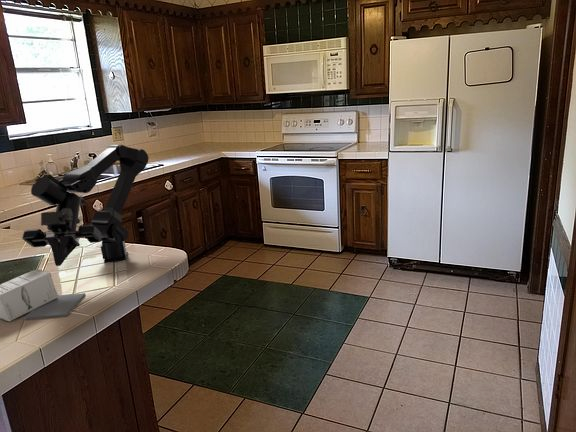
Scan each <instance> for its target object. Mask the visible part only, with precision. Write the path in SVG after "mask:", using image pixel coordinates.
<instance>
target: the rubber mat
mask: <svg viewBox="0 0 576 432" xmlns="http://www.w3.org/2000/svg"><path fill="white" fill-rule="evenodd" d="M58 296H59V297H58V298H56V299H54V300H52V301H50V302H48V303H46V304H44V305H42V306H40V307H38V308H36V309H34V310H32V311H30V312H28V314H27V315H26V316H25V317H24V320H26V321H27V320H38V319H51V318H62V317H63V318H64V317H68V315H70V314H71V313H72V311H73V310H74V309H75V308H76V307H77V305H79V303H80V302H81V301H82V300H83V299H84V298H85V296H86V293H84V292H82V293H71V294H62V295H60V294H58Z"/></svg>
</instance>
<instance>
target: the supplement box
mask: <svg viewBox="0 0 576 432" xmlns="http://www.w3.org/2000/svg"><path fill="white" fill-rule="evenodd" d="M58 295H59V294H58V292H57V288H56V286H55V283H54V281H53V278H52V273H51V272H49V271H47V270H42V269H38V268H36V269H33V270H31V271H29V272H26V273H24V274H22V275H19V276H16V277H15V278H12V279H10V280H8V281H5V282H3V283H1V284H0V319H2V320H4V321H7V322H12V321H14V320H15V319H17V318H19V317H22V316H24V315H26V314H27V313H28V314H29V313H30V312H31V311H32V310H34V309H36V308H38V307H40V306H42V305H44V304H46V303H48V302H50V301H52V300H54V299H56V298H58V297H59V296H58Z"/></svg>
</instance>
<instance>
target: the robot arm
mask: <svg viewBox="0 0 576 432" xmlns="http://www.w3.org/2000/svg"><path fill="white" fill-rule="evenodd" d="M117 162H119V167H120V171H119V174H118V177H117V179H116V181H115V184H114V186H113V188H112V190H111V193H110V196H109V198H108V200H107V203H106V205H105V207H104V209H102V211H100V210H96V211H95V213H93V214H94V215H93V218H92V220H91V221H90V224H84V225H83V224H81V225H79V226H78V224H80V223H81V220H80V219H79V214H80V209H81V208H80V207H82V206H85V205H87V201H86V200H85V199H84V198H83V196H82V195H78V194H88V193H90V192H91V191H92V190H93V189H94V187H95V186H96V184H98V179H99V177H100V176H101V175H103V174H105V172H106V171H107V170H109V168H111V167H112V166H113V165H114V164H115V163H117ZM148 162H149V155H148V153H147V152H146V150H145V149H143V148H138V149H137V148H133V147H130V146H129V147H128V146H126V145H124V144H110V145H108V146H107V147H106V149H105V150H103V151H102V152H101V153H99V154H98V155H97V156H95V158H93V159H92V160H91V161H90V162H88V163H87V164H86V165H84V166H82V167H79V168H76V169H73V170H72V171H69V172H67V173H65V174H64V175H63V177H62V179H60V180H58V179H57V178H55V177H54V176H53V175H52V174H50V173H46V174H43V175H42V177H41V178H39V179H38V180H36V181H35V183H34V184H32V186H31V189H30V192H31V195H32V196H33V197H35V198H37V199H38V200H40V201H42V202H44V204H45V203H46V204H47V205H49V206H51V207H52V206H56V209H55V211H45V212H41V213H40V225H41V226H46V229H48V231H46V232H44V231H43V230H41V228H35V229H34V228H33V229H26V230H24V232H23V233H22V237H21V238H22V239H21V240H23V241H24V242H25V243H27V244H28V245H30V247H33V248H43V247H45V248H46V246H50V248H51V250H52V255H53V261H54V265H55V266H56V267H60V266H62V265H63V263H64V262H65V261H66V259H67V258H68V257H69V255H70V254H71V253H72V252H73V251H74V250H75V249H76V248H77V247H80V246H81V245H80V243H79V242H80V239H81V238H82V239H84V238H86V239H87V241H88V242H89V243H90V244H91V243H93V244H94V243H95V244H96V243H101V246H100V251H101V255H102V260H103V262H104V263H112V262H119V261H125V260H127V257H128V254H129V252H128V251H127V247H126V242H125V241H126V240H127V239H129V231H128V230H127V229H126V228H124V227H123V226H122V225H123V220H122V219H123V218H122V215H121V214H122V212H123V210H124V209H123V208H124V207H125V204H126V202H127V199H128V197H129V195H130V192H131V189H132V187H133V185H134V181H135V180H136V177H137V176H139V174H140V173H142V172H143V171H144V169H145V168H146V167H147V165H148ZM77 227H78V230H77Z"/></svg>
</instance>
